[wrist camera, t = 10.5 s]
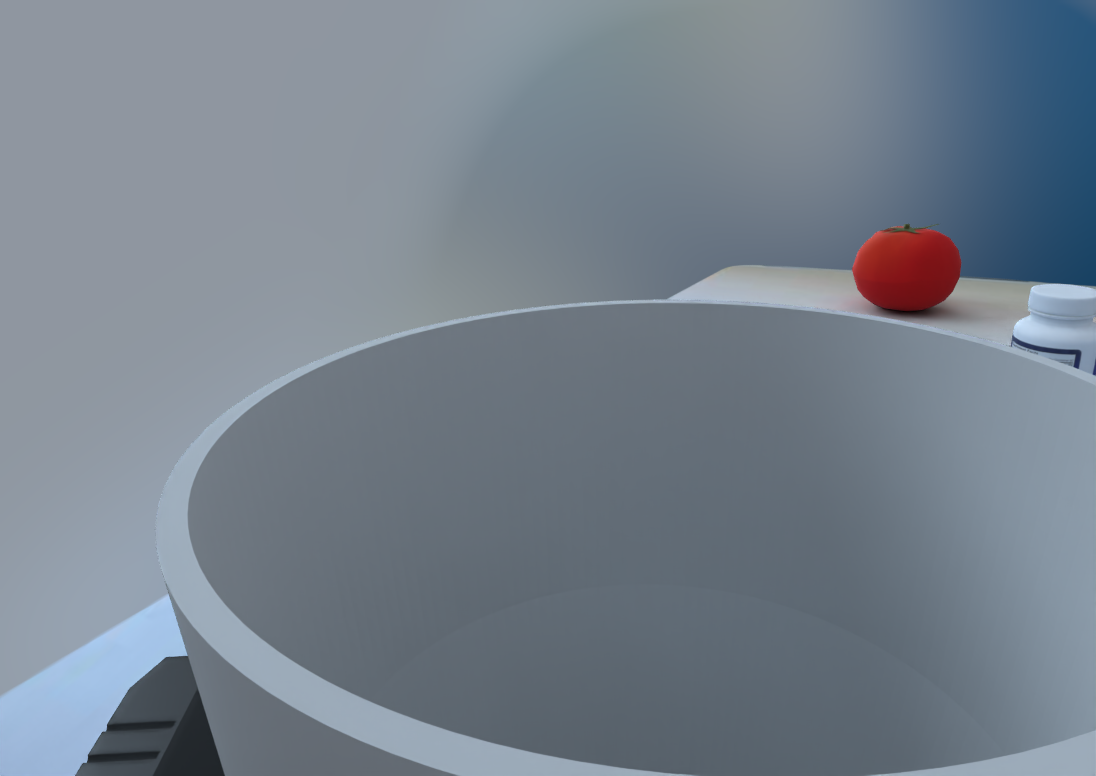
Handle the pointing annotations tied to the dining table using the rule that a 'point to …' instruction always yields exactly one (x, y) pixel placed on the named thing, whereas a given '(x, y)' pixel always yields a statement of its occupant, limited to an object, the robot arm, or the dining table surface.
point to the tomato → (907, 268)
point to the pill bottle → (1060, 325)
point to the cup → (646, 551)
